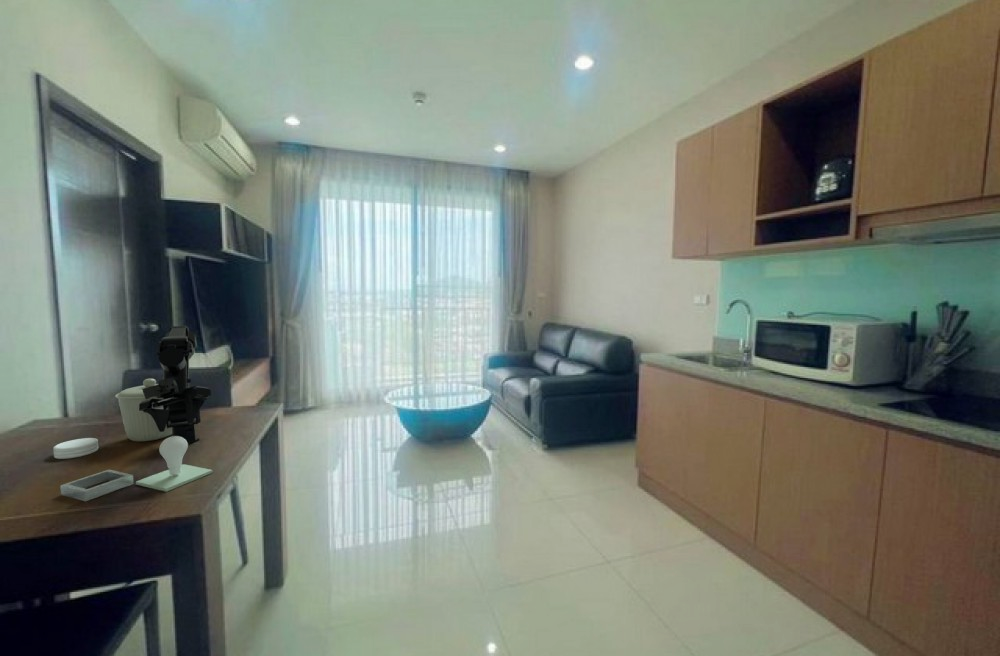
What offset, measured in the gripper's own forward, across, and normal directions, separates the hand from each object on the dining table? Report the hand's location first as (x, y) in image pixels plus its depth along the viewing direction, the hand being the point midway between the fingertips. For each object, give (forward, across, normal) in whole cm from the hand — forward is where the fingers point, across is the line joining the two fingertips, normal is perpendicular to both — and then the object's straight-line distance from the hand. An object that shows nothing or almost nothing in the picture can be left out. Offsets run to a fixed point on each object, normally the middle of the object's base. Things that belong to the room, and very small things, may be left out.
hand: (175, 427), depth 119 cm
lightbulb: (+14, +2, -2) cm, 14 cm away
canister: (-5, -32, +23) cm, 40 cm away
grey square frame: (+13, -12, -11) cm, 21 cm away
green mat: (+15, +2, -2) cm, 15 cm away
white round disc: (-3, -43, +7) cm, 43 cm away
